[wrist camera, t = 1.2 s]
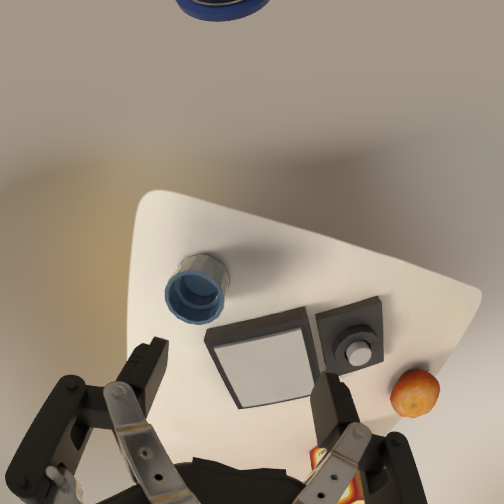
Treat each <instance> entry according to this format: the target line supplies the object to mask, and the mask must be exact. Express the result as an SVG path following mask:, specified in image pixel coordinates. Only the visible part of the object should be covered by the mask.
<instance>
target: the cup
mask: <svg viewBox="0 0 504 504" xmlns="http://www.w3.org/2000/svg"><path fill="white" fill-rule="evenodd" d="M228 285H229V277H228V274H227V271H226V269H225V268H224V266H223V265H222V264H221V263H220V262H219V261H218V260H216V259H214V258H212V257H210V256H207V255H194V256H191V257H188V258H187V259H186V260H184V261H183V262H182V263H181V264H180V266H179V267H178V268H177V270H176V271H175V272H174V274H173V275H172V276H171V278H170V279H169V281H168V283H167V285H166V288H165V301H166V303H167V305H168V308H169V310H170V311H171V312H172V313H173V314H174V315H175V316H176V317H177V318H178V319H180V320H182V321H184V322H186V323H189V324H196V325H201V324H206V323H210V322H212V321H213V320H214V319H216V318H217V317H219V315H220V313H221V312H222V310H223V308H224V304H225V300H226V295H227V291H228Z"/></svg>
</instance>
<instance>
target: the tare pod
mask: <svg viewBox="0 0 504 504" xmlns="http://www.w3.org/2000/svg"><path fill="white" fill-rule="evenodd" d="M315 316H316V321H317V326H318V331H319V336H320V341H321V346H322V351H323V356H324V361H325V367H326V372H335V373H337V374H338V376H340V375H344V374H347V373H350V372H353V371H357V370H360V369H363V368H366V367H369V366H372V365H375V364H378V363H380V362H383V361H384V347H383V317H382V301H381V300H380V299H379V297H378V296H376V297H373V298H370V299H367V300H363V301H360V302H357V303H354V304H350V305H347V306H344V307H340V308H337V309H334V310H330V311H327V312H323V313H319V314H316V315H315ZM356 341H364V342H366V343H367V345H368V347H369V348H370V350H371V358H370V359H369V361H368V362H366V363H365V364H363V365H361V366H353V365H352V364H350V362H349V359H348V357H347V354H346V351H347V348H348V347H349V345H350V344H352V343H353V342H356Z"/></svg>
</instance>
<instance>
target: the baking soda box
mask: <svg viewBox="0 0 504 504" xmlns="http://www.w3.org/2000/svg"><path fill="white" fill-rule="evenodd" d="M309 452H310V459H311V467H312V470H313V469H314V468H315V466H316V465H317V464H318V462H319V461H320V460H321V458H322V457H323V456H324V454H325V453H326V452H327V450H326V448H318V446H316V447H315V448H314V449H312V450H311V451H309ZM337 504H365V502H364V496H363V489H362V483H361V478H360V472H359V470H357V472H356V473H355V475H354V477H353V479H352V480H351V482H350V484H349V485H348V487H347V488H346V490H345V492H344V493H343V495H342V496H341V498H340V499H339V501H338V502H337Z"/></svg>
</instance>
